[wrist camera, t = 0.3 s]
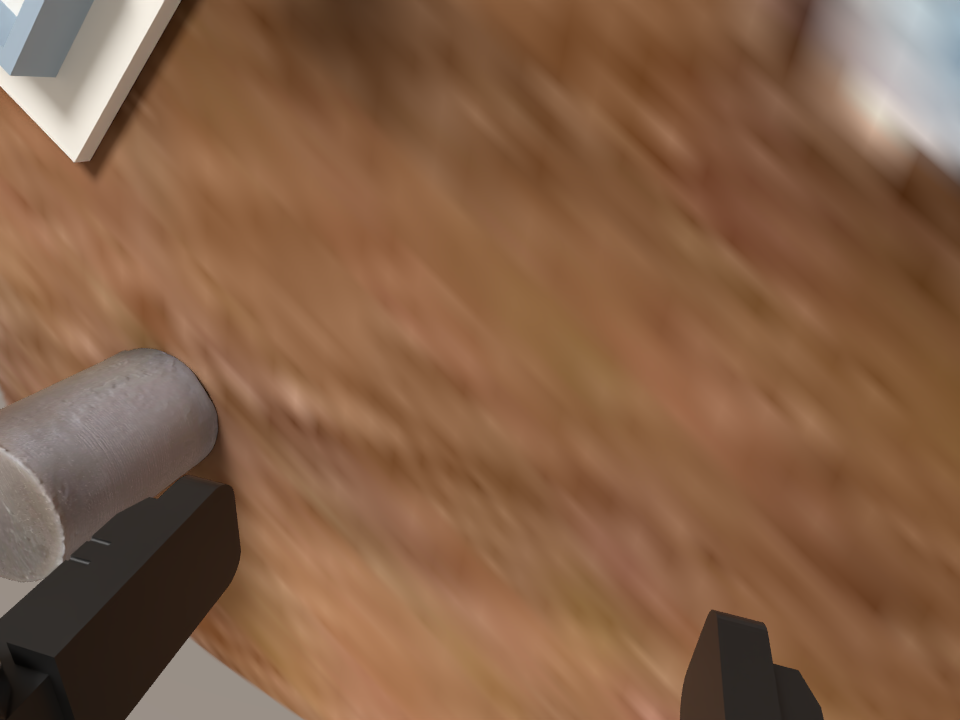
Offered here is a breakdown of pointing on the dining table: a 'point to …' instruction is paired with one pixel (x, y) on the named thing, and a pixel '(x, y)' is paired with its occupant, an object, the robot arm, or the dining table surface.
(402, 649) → the dining table surface
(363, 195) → the dining table surface
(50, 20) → the sleeve holder
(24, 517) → the pillar candle
